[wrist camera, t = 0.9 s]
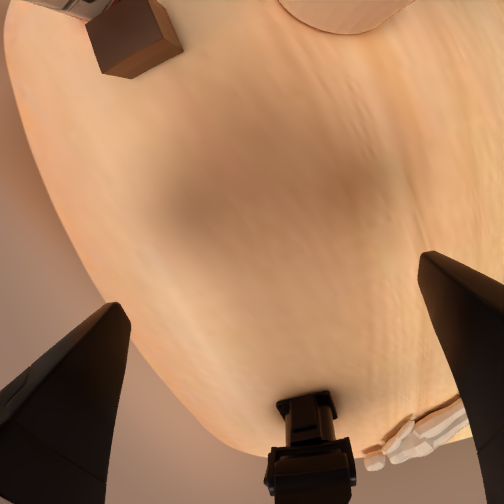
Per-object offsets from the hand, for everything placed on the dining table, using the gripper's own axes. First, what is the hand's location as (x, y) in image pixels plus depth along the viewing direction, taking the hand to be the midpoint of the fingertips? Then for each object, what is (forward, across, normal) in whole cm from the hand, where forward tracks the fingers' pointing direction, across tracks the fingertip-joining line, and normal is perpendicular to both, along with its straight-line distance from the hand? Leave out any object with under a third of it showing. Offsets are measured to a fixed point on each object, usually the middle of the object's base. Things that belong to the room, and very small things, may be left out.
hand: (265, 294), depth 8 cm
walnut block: (+16, +6, -11) cm, 20 cm away
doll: (+8, -30, +34) cm, 46 cm away
